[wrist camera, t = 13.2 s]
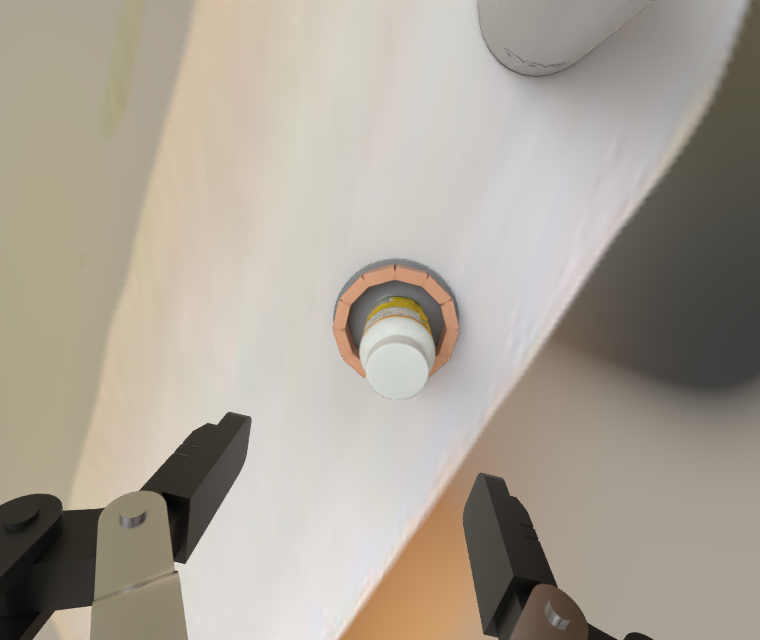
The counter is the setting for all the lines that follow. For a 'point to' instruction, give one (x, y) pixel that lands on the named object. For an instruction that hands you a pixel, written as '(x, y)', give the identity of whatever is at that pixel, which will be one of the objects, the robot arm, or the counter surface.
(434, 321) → the ring tray
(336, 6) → the counter surface
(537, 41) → the robot arm
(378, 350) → the supplement bottle
